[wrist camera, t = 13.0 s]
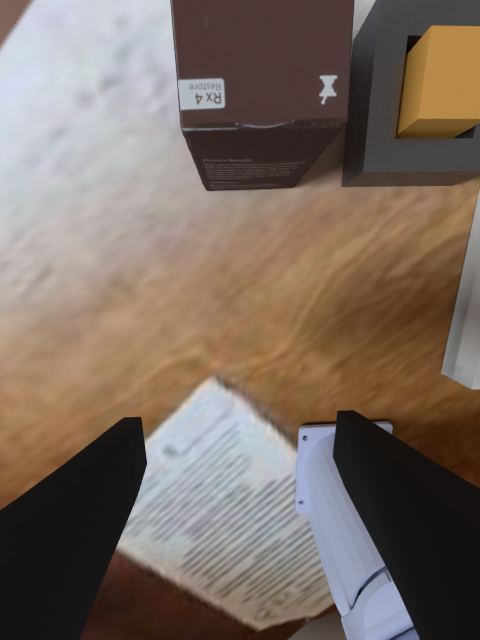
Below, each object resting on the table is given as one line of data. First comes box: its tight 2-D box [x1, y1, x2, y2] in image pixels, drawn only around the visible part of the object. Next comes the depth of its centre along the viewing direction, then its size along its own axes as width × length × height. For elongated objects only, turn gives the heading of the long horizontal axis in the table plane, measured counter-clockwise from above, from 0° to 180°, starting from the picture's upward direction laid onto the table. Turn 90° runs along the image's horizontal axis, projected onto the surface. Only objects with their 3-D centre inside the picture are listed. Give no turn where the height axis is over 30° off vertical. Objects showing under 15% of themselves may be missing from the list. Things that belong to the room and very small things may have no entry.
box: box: [170, 0, 354, 191], centre depth 11 cm, size 6×6×7 cm
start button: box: [395, 26, 480, 139], centre depth 12 cm, size 4×4×3 cm
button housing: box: [342, 0, 480, 187], centre depth 13 cm, size 8×8×2 cm
